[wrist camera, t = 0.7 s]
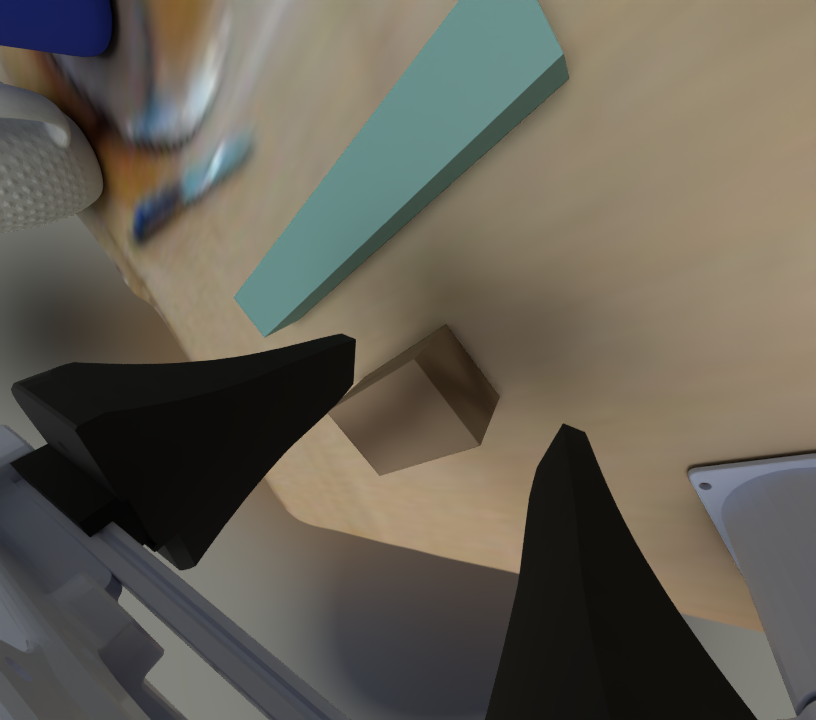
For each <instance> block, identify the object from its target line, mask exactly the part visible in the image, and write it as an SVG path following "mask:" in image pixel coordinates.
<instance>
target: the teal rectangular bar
mask: <svg viewBox="0 0 816 720" xmlns="http://www.w3.org/2000/svg"><path fill="white" fill-rule="evenodd" d="M568 79H569V76H568V71H567V67H566V62H565V57H564V53H563V51H562V49H561V47H560V45H559V43H558V41H557V39H556V37H555V35H554V33H553V31H552V29H551V27H550V25H549V23H548V21H547V19H546V17H545V15H544V13H543V11H542V9H541V7H540V5H539V3H538V1H537V0H459V1H458V3H457V4H456V5H455V6H454V8H453V9H452V10H451V12H450V13H449V14H448V16H447V17H446V18H445V20H444V21H443V22H442V24H441V25H440V26H439V28H438V29H437V30H436V31H435V33H434V34H433V35H432V37H431V38H430V39H429V41H428V42H427V43H426V45H425V46H424V47H423V49H422V50H421V51H420V53H419V54H418V55H417V57H416V58H415V59H414V60H413V62H412V63H411V64H410V66H409V67H408V68H407V70H406V71H405V72H404V74H403V75H402V76H401V78H400V79H399V80H398V82H397V83H396V84H395V85H394V87H393V88H392V89H391V91H390V92H389V93H388V95H387V96H386V97H385V99H384V100H383V101H382V103H381V104H380V105H379V107H378V108H377V109H376V111H375V112H374V113H373V114H372V116H371V117H370V118H369V120H368V121H367V122H366V124H365V125H364V126H363V128H362V129H361V130H360V132H359V133H358V134H357V136H356V137H355V138H354V139H353V141H352V142H351V143H350V145H349V146H348V147H347V149H346V150H345V151H344V153H343V154H342V155H341V157H340V158H339V159H338V161H337V162H336V163H335V165H334V166H333V167H332V168H331V170H330V171H329V172H328V174H327V175H326V176H325V178H324V179H323V180H322V182H321V183H320V184H319V186H318V187H317V188H316V190H315V191H314V192H313V193H312V195H311V196H310V197H309V199H308V200H307V201H306V203H305V204H304V205H303V207H302V208H301V209H300V211H299V212H298V213H297V215H296V216H295V217H294V218H293V220H292V221H291V222H290V224H289V225H288V226H287V228H286V229H285V230H284V232H283V233H282V234H281V236H280V237H279V238H278V240H277V241H276V242H275V244H274V245H273V246H272V247H271V249H270V250H269V251H268V253H267V254H266V255H265V257H264V258H263V259H262V261H261V262H260V263H259V265H258V266H257V267H256V269H255V270H254V271H253V272H252V274H251V275H250V276H249V278H248V279H247V280H246V282H245V283H244V284H243V286H242V287H241V288H240V290H239V291H238V292H237V294H236V295H235V296H234V299H235V300H236V302H237V303H238V304H239V305H240V307H241V308H242V309H243V311H244V312H245V313H246V314H247V316H248V317H249V318H250V320H251V321H252V322H253V323H254V325H255V326H256V327H257V329H258V330H259V331H260V333H261V334H262V335H263V336H264V338H265V337H267V336H269V335H270V334H272V333H274V332H276V331H278V330H280V329H282V328H284V327H286V326H288V325H290V324H292V323H294V322H296V321H298V320H299V319H300V318H301V317H302V316H303V315H304V314H306V313H307V312H308V311H309V310H310V309H311V308H312V307H313V306H314V305H316V304H317V303H318V302H319V301H320V300H321V299H322V298H323V297H325V296H326V295H327V294H328V293H329V292H330V291H331V290H332V289H334V288H335V287H336V286H337V285H338V284H339V283H340V282H341V281H342V280H344V279H345V278H346V277H347V276H348V275H349V274H350V273H351V272H353V271H354V270H355V269H356V268H357V267H358V266H359V265H360V264H362V263H363V262H364V261H365V260H366V259H367V258H368V257H369V256H370V255H372V254H373V253H374V252H375V251H376V250H377V249H378V248H379V247H381V246H382V245H383V244H384V243H385V242H386V241H387V240H388V239H390V238H391V237H392V236H393V235H394V234H395V233H396V232H397V231H399V230H400V229H401V228H402V227H403V226H404V225H405V224H406V223H407V222H409V221H410V220H411V219H412V218H413V217H414V216H415V215H416V214H418V213H419V212H420V211H421V210H422V209H423V208H424V207H425V206H427V205H428V204H429V203H430V202H431V201H432V200H433V199H434V198H435V197H437V196H438V195H439V194H440V193H441V192H442V191H443V190H444V189H446V188H447V187H448V186H449V185H450V184H451V183H452V182H453V181H455V180H456V179H457V178H458V177H459V176H460V175H461V174H462V173H463V172H465V171H466V170H467V169H468V168H469V167H470V166H471V165H472V164H474V163H475V162H476V161H477V160H478V159H479V158H480V157H481V156H483V155H484V154H485V153H486V152H487V151H488V150H489V149H490V148H491V147H493V146H494V145H495V144H496V143H497V142H498V141H499V140H500V139H502V138H503V137H504V136H505V135H506V134H507V133H508V132H509V131H511V130H512V129H513V128H514V127H515V126H516V125H517V124H518V123H520V122H521V121H522V120H523V119H524V118H525V117H526V116H527V115H528V114H530V113H531V112H532V111H533V110H534V109H535V108H536V107H537V106H539V105H540V104H541V103H542V102H543V101H544V100H545V99H546V98H548V97H549V96H550V95H551V94H552V93H553V92H554V91H555V90H556V89H558V88H559V87H560V86H561V85H562V84H563V83H564V82H565V81H567V80H568Z"/></svg>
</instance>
